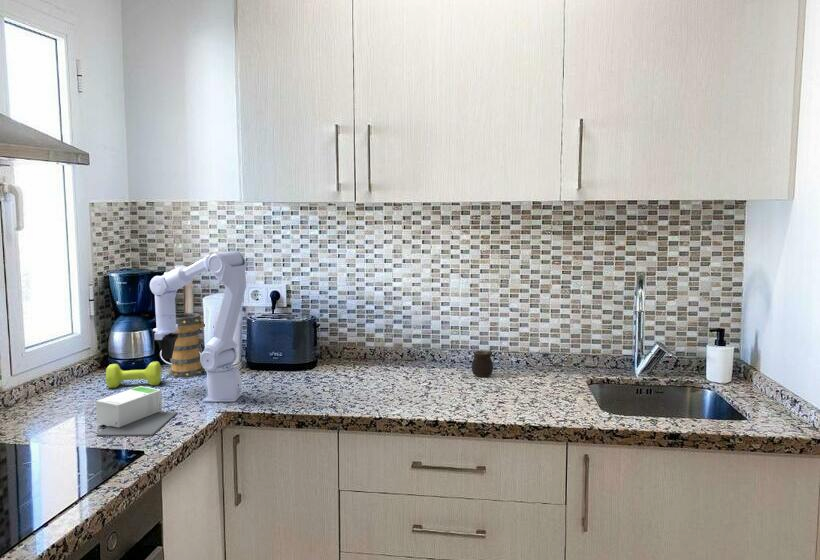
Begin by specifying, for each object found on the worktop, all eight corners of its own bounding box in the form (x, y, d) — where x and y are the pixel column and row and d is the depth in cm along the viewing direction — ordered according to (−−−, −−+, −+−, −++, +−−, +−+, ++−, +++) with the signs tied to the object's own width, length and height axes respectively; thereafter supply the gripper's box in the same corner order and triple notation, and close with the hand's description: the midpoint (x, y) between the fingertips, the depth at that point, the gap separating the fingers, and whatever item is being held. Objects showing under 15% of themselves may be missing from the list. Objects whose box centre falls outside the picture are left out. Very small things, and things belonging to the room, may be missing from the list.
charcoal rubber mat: (177, 413, 192) (177, 411, 192) (152, 435, 174) (151, 434, 174) (127, 413, 192) (127, 412, 192) (96, 436, 174) (96, 434, 174)
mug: (166, 370, 239) (163, 313, 236) (218, 366, 244) (215, 310, 242) (167, 380, 227) (163, 320, 224) (221, 374, 232) (218, 316, 230)
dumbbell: (163, 380, 226) (162, 359, 225) (159, 387, 219) (158, 365, 218) (110, 383, 223) (108, 362, 222) (104, 390, 216) (102, 368, 215)
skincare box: (162, 389, 192) (119, 404, 177) (162, 412, 192) (119, 429, 178) (139, 385, 195) (94, 399, 180) (139, 408, 196) (95, 424, 181)
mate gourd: (474, 372, 232) (474, 343, 231) (496, 374, 230) (496, 344, 229) (468, 377, 226) (468, 347, 224) (491, 379, 223) (491, 349, 222)
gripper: (161, 310, 218) (163, 352, 219) (143, 318, 203) (145, 363, 205) (183, 310, 218) (185, 352, 219) (167, 318, 203) (169, 363, 205)
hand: (168, 358), depth 212 cm, fingers closed
